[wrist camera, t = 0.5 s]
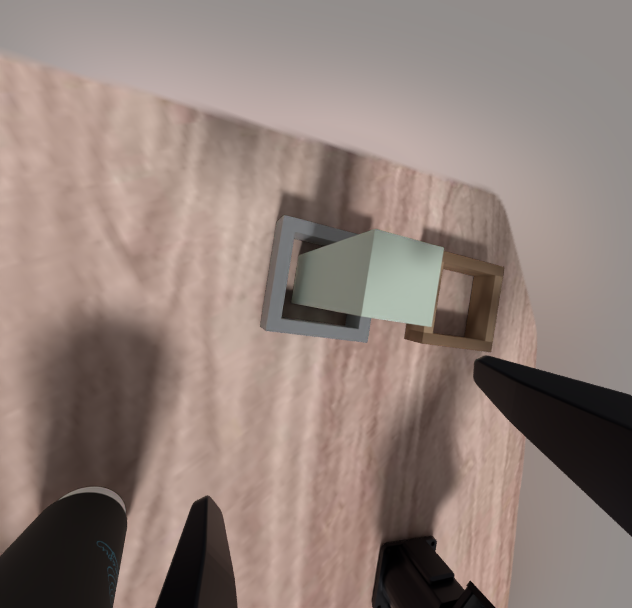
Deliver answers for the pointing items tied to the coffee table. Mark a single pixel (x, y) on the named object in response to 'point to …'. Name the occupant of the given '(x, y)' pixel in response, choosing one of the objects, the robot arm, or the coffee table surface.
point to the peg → (372, 277)
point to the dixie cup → (67, 554)
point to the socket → (278, 277)
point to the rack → (479, 309)
